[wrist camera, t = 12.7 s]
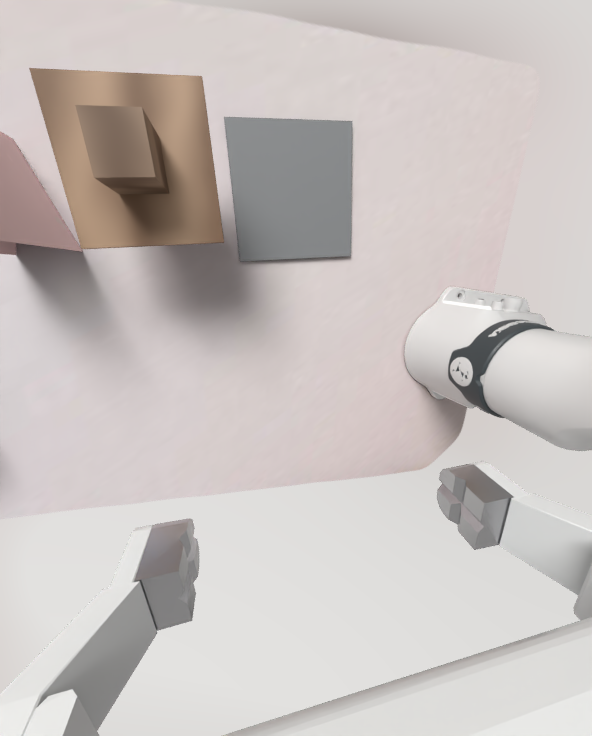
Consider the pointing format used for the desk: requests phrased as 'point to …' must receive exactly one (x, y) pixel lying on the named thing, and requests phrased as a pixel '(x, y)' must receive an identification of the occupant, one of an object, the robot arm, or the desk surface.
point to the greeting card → (27, 206)
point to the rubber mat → (290, 187)
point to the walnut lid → (132, 156)
